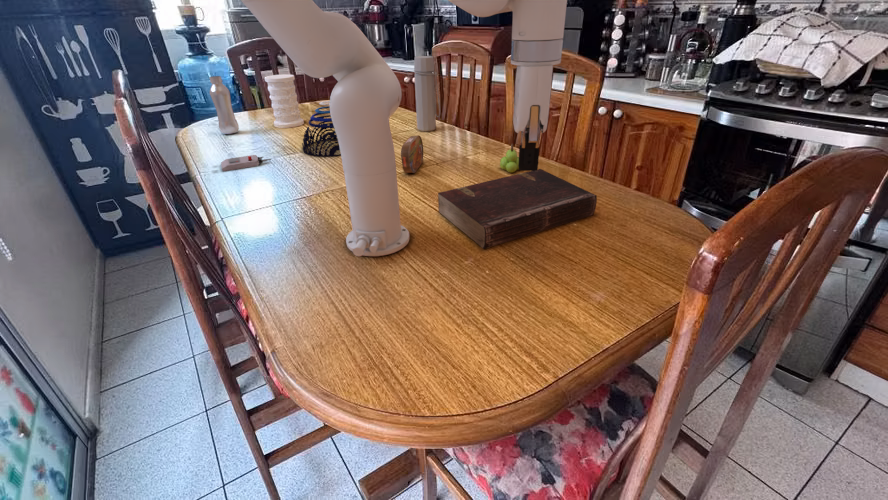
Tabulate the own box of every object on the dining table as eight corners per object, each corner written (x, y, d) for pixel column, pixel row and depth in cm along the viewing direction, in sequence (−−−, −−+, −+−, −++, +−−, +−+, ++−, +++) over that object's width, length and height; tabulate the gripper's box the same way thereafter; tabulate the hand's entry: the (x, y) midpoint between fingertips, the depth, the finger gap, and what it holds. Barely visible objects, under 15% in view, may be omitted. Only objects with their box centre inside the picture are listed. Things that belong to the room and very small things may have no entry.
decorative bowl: (370, 151, 135) (365, 105, 127) (306, 160, 129) (297, 112, 121) (357, 136, 151) (352, 94, 143) (301, 143, 145) (292, 100, 137)
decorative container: (297, 119, 175) (288, 73, 166) (308, 124, 167) (299, 76, 158) (269, 124, 169) (258, 76, 160) (280, 129, 161) (269, 79, 152)
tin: (411, 177, 114) (409, 147, 110) (400, 177, 115) (398, 146, 110) (424, 159, 127) (423, 132, 122) (414, 159, 127) (413, 131, 123)
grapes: (522, 174, 114) (524, 148, 111) (499, 174, 115) (501, 148, 111) (520, 163, 122) (522, 138, 119) (499, 162, 123) (500, 138, 119)
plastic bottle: (221, 132, 159) (204, 76, 149) (240, 130, 162) (225, 74, 151) (221, 136, 154) (204, 78, 144) (240, 134, 156) (225, 77, 146)
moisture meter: (215, 166, 126) (212, 156, 124) (269, 157, 132) (267, 148, 130) (215, 172, 121) (212, 162, 119) (272, 163, 127) (270, 154, 125)
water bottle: (413, 131, 154) (409, 58, 142) (421, 126, 161) (417, 55, 148) (437, 133, 152) (435, 58, 139) (443, 127, 159) (442, 55, 146)
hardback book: (484, 249, 80) (485, 226, 78) (438, 213, 94) (438, 192, 92) (594, 215, 92) (598, 194, 89) (538, 187, 106) (540, 168, 104)
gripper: (509, 48, 69) (504, 155, 79) (513, 59, 57) (507, 185, 66) (555, 47, 69) (545, 155, 78) (569, 57, 56) (555, 185, 65)
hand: (527, 168), depth 72 cm, fingers closed
